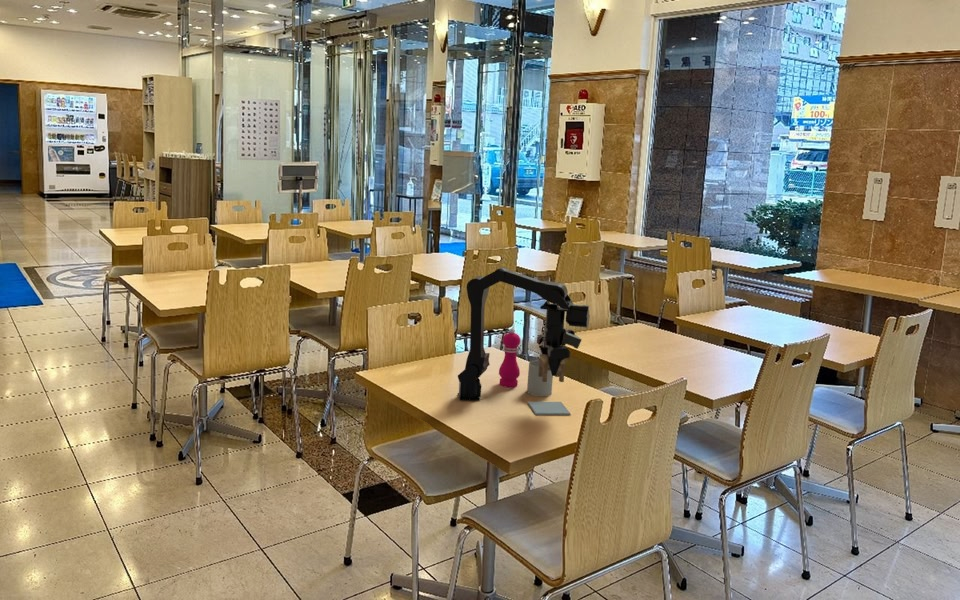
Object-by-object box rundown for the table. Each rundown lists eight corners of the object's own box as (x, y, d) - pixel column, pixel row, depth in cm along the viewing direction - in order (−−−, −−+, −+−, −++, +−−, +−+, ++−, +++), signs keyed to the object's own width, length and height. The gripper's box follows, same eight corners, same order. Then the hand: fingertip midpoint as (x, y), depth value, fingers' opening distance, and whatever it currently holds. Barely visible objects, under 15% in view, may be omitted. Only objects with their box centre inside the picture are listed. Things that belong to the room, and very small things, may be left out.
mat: (535, 415, 239) (536, 413, 239) (527, 403, 249) (528, 401, 249) (570, 415, 241) (570, 413, 240) (561, 403, 251) (561, 401, 251)
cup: (536, 397, 256) (538, 368, 254) (521, 390, 263) (523, 361, 261) (556, 394, 261) (558, 365, 259) (541, 387, 267) (543, 359, 265)
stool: (542, 381, 239) (544, 360, 238) (538, 375, 245) (539, 354, 244) (563, 382, 240) (565, 360, 239) (558, 375, 246) (559, 354, 245)
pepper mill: (498, 387, 264) (502, 330, 260) (497, 381, 271) (501, 325, 267) (519, 388, 264) (523, 331, 260) (518, 382, 271) (521, 326, 268)
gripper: (588, 331, 232) (584, 381, 235) (571, 317, 250) (568, 364, 253) (552, 331, 230) (548, 381, 233) (538, 317, 248) (534, 364, 251)
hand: (551, 372), depth 242 cm, fingers closed on stool, 6 cm apart
